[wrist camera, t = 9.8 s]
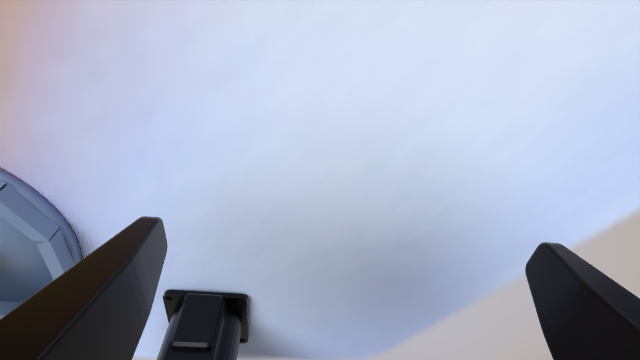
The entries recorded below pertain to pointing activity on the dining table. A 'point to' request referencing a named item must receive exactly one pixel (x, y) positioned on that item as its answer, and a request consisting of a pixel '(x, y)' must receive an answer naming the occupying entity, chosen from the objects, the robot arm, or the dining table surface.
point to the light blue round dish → (30, 243)
